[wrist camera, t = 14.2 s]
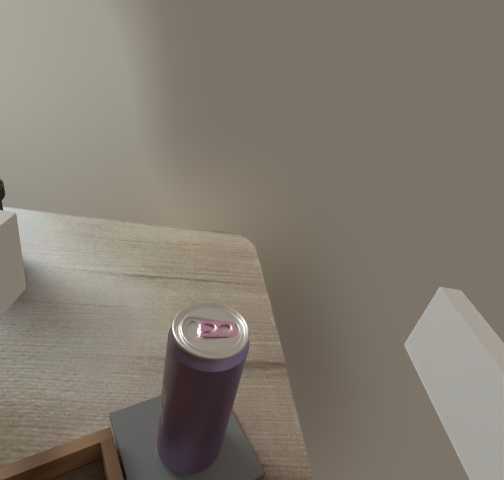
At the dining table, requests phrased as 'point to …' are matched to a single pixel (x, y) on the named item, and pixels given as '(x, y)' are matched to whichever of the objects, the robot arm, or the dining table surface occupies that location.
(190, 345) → the beverage can
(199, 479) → the slate coaster
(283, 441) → the dining table surface
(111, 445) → the walnut holder
